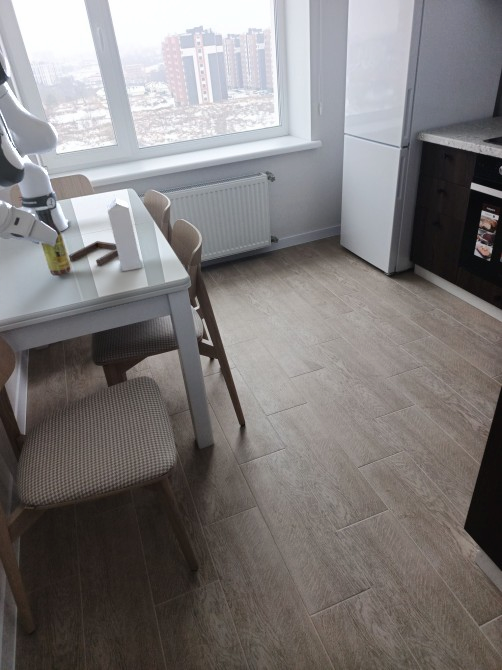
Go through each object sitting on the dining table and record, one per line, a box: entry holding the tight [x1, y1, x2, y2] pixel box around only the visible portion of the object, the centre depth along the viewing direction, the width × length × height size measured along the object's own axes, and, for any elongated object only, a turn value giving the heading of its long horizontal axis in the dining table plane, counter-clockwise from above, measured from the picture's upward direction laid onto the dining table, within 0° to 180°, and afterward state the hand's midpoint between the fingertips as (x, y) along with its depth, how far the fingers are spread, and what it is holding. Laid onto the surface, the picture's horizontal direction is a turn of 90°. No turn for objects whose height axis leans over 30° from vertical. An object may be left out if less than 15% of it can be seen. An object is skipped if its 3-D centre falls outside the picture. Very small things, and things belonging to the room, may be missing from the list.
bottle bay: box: [68, 240, 119, 267], centre depth 157 cm, size 13×13×2 cm
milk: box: [106, 195, 142, 272], centre depth 143 cm, size 6×6×22 cm
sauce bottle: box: [35, 206, 72, 276], centre depth 141 cm, size 7×6×20 cm
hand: (45, 242), depth 139 cm, fingers closed on sauce bottle, 5 cm apart
